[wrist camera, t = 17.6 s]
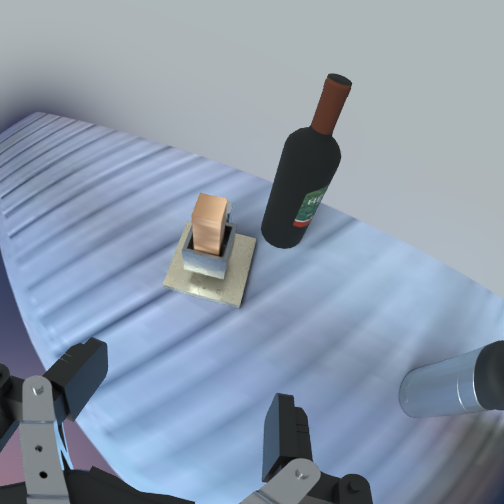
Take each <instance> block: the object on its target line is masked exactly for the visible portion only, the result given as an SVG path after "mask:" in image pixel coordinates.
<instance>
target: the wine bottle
mask: <svg viewBox="0 0 504 504" xmlns="http://www.w3.org/2000/svg"><path fill="white" fill-rule="evenodd" d="M351 86H352V82H351V81H350V80H348V79H347V78H345V77H344V76H341V75H338V74H328V76H327V79H326V80H325V83H324V86H323V87H324V88H323V92H322V94H321V97H320V100H319V103H318V106H317V109H316V112H315V115H314V118H313V121H312V123H311V125H310V127H306V128H300V129H298V130H297V131H295V132H293V133H292V134H290V135H289V137H288V138H287V140H286V142H285V145H284V148H283V151H282V155H281V158H280V162H279V166H278V169H277V173H276V176H275V179H274V183H273V186H272V190H271V193H270V197H269V200H268V204H267V207H266V211H265V214H264V218H263V221H262V226H261V231H262V235H263V236H264V238H265V240H266V241H267V242H269V243H270V244H271V245H273V246H275V247H277V248H283V249H286V248H291V247H294V246H296V245H297V244H298V243H299V242H300V240H301V239H302V237H303V235H304V233H305V231H306V229H307V227H308V225H309V223H310V221H311V219H312V218H313V216H314V214H315V212H316V210H317V208H318V206H319V204H320V202H321V200H322V198H323V196H324V194H325V192H326V190H327V188H328V186H329V184H330V182H331V180H332V178H333V176H334V174H335V172H336V170H337V168H338V166H339V163H340V160H341V153H340V148H339V146H338V144H337V142H336V140H335V139H334V138H333V137H332V133H333V130H334V127H335V125H336V122H337V120H338V118H339V115H340V113H341V110H342V108H343V106H344V103H345V101H346V98H347V97H348V95H349V92H350V90H351Z"/></svg>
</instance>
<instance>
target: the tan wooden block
mask: <svg viewBox="0 0 504 504" xmlns="http://www.w3.org/2000/svg"><path fill="white" fill-rule="evenodd" d="M227 201H228V199H226V198H222V197H217V196H212V195H207V194H202V193H200V194H199V197H198V200H197V202H196V205H195V208H194V211H193V213H192V227H193V240H194V250H195V251H199V252H203V253H206V254H210V255H214V256H218V257H221V255H222V251H223V241H224V231H225V221H226V211H227Z"/></svg>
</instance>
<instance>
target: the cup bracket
mask: <svg viewBox="0 0 504 504" xmlns="http://www.w3.org/2000/svg"><path fill="white" fill-rule="evenodd" d="M232 210H233V203H232V202H228V201H227V211H226V221H225V231H224V241H223V251H222V255H221V257H218V256H214V255H210V254H206V253H203V252H199V251H195V250H194V240H193V227H192V222H189V221H187V224H186V226H185V229H184V231H183V234H182V236H181V239H180V241H179V244H178V246H177V249H176V251H175V254H174V256H173V259H172V262H171V264H170V267H169V270H168V272H167V275H166V278H165V280H164V283H163V286H164V288H165V289H169V290H172V291H176V292H179V293H182V294H186V295H190V296H193V297H197V298H200V299H204V300H208V301H211V302H215V303H219V304H223V305H226V306H230V307H234V308H238V309H239V307H240V303H241V299H242V295H243V291H244V287H245V283H246V279H247V275H248V271H249V267H250V263H251V259H252V255H253V251H254V247H255V243H256V238H252V237H248V236H244V235H241V234H237V233H236V229H237V225H235V224H232V223H231V218H232Z"/></svg>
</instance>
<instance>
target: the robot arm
mask: <svg viewBox="0 0 504 504" xmlns="http://www.w3.org/2000/svg"><path fill="white" fill-rule="evenodd" d="M107 371H108V354H107V344H106V343H105V342H103V341H100V340H98V339H96V338H93V337H91V338H90V339H89V340H88V341H87V342H86V343H85V344H82V343H79V344H76V345H74V346H72V347H71V348H69V349H68V350H67V351H66V352H65V354H63V355H62V356H61V357H60V359H58V360H57V361H56V362H55V363H54V364H53V365H52V366H51V368H50V369H49V370H48V371H47V372H46V373H45V374H44V375H43V376H31V377H29V378H27V379H26V380H24V379H20V378H17V377H14V376H11V375H10V372H9V369H8V368H7V367H6V366H5V365H3V364H0V452H1V451H2V449H3V448H4V446H5V445H6V443H7V442H8V440H9V439H10V438H11V436H12V435H13V433H14V432H15V430H16V429H17V427H18V426H19V429H20V430H19V431H20V445H21V455H22V462H23V470H24V477H25V481H24V482H19V483H15V484H10V485H5V486H0V504H195V502H193V501H189V500H185V499H181V498H177V497H174V496H170V495H163V494H154V493H146V492H140V491H138V490H136V489H135V488H133V487H131V486H130V485H128V484H127V483H125V482H124V481H122V480H121V479H119V478H118V477H116V476H114V475H112V474H109V473H107V472H105V471H103V470H100V469H98V468H96V467H94V466H92V468H91V470H90V471H88V470H82V469H73V466H72V463H71V460H70V458H69V453H68V448H67V443H66V438H65V433H64V428H63V423H62V422H63V421H64V420H65V418H67V419H69V420H71V421H72V422H74V420H75V419H76V418H77V416H78V415H79V413H80V412H81V410H82V409H83V408H84V406H85V405H86V403H87V402H88V401H89V399H90V398H91V396H92V395H93V394H94V392H95V391H96V390H97V388H98V387H99V385H100V384H101V383H102V381H103V380H104V379H105V377H106V374H107ZM399 399H400V404H401V407H402V409H403V411H404V412H405V413H406V414H407V415H408V416H410V417H414V418H418V417H438V416H450V415H460V414H468V413H475V412H482V411H488V410H494V409H497V410H504V341H503V340H502V341H496V342H494V343H491V344H489V345H486V346H484V347H481V348H479V349H476V350H473V351H471V352H468V353H465V354H462V355H460V356H457V357H454V358H451V359H448V360H444V361H441V362H438V363H435V364H431V365H428V366H424V367H420V368H417V369H414V370H412V371H411V372H409V373H408V374H407V375H406V377H405V378H404V380H403V382H402V384H401V387H400V393H399ZM262 482H267V484H265V485H264V486H263V487H262V488H261V489H259V490H258V491H255V492H253V493H252V494H251V495H249V496H248V497H247V498H246V499H244V500H243V501H242V502H240V503H239V504H373V502H372V496H371V490H370V485H369V483H368V481H367V480H366V479H365V478H364V477H362V476H360V475H357V474H348V475H345V476H344V477H342V478H338V477H334V476H331V475H328V474H325V473H323V472H321V471H320V469H319V467H318V466H317V465H316V464H315V463H314V462H313V459H312V450H311V442H310V434H309V427H308V418H307V415H306V413H305V412H304V410H303V409H302V408H300V407H295V406H294V397H293V395H287V394H281V393H276V395H275V397H274V399H273V401H272V404H271V406H270V408H269V410H268V413H267V415H266V418H265V423H264V445H263V470H262Z"/></svg>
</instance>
